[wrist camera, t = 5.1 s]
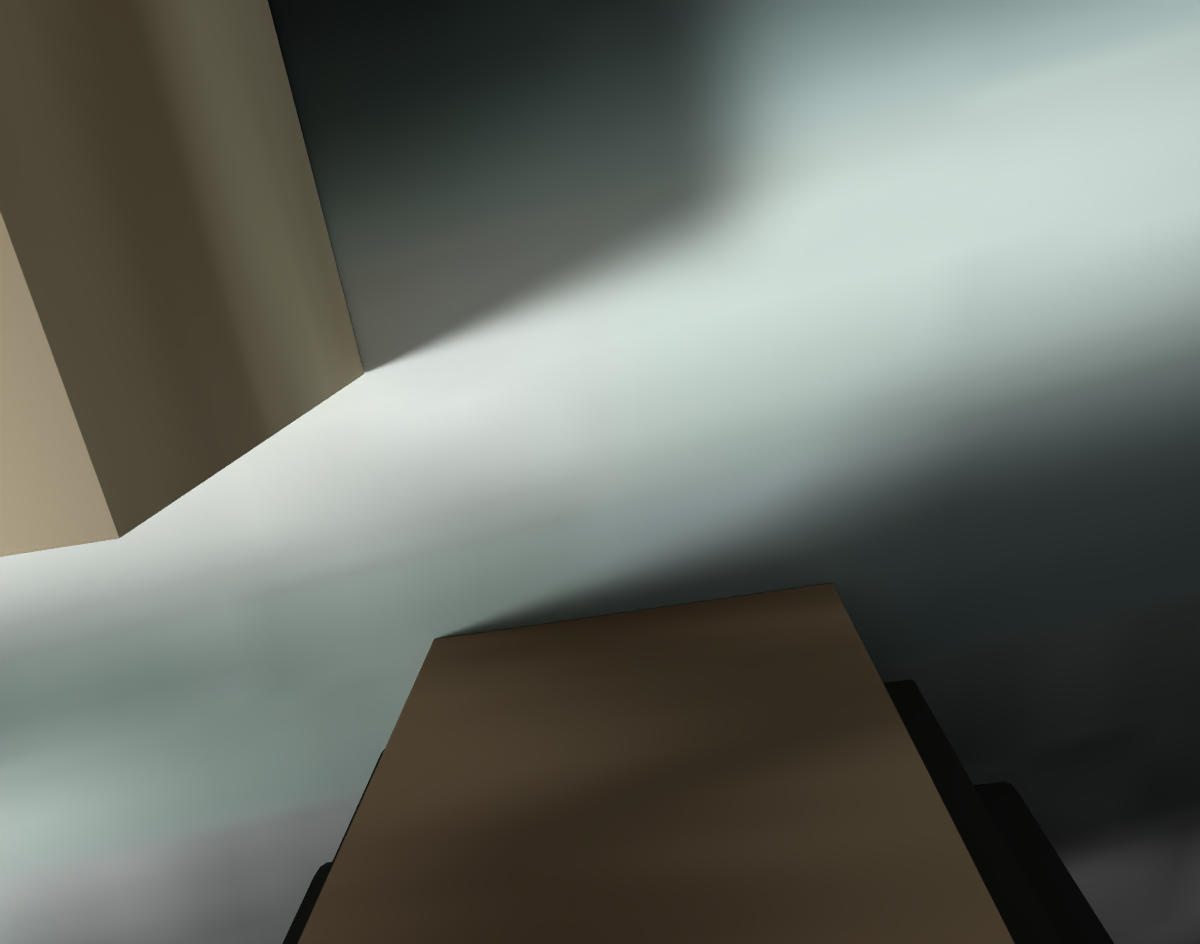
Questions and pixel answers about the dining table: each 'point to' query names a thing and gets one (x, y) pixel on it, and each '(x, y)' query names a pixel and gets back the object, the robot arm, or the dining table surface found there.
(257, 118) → the block
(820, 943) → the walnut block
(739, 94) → the dining table surface
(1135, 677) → the dining table surface
